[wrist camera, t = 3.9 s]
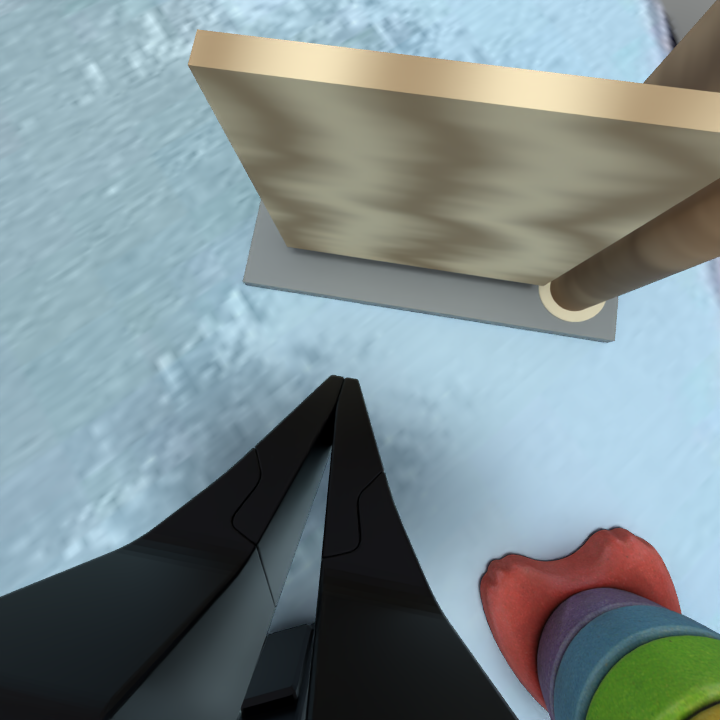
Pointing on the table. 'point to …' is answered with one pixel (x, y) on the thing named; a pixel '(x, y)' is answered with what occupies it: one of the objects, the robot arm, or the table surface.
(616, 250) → the fixed fence panel
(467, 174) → the folding fence panel
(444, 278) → the board
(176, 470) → the table surface
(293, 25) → the table surface
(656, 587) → the stacking bear
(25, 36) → the table surface
